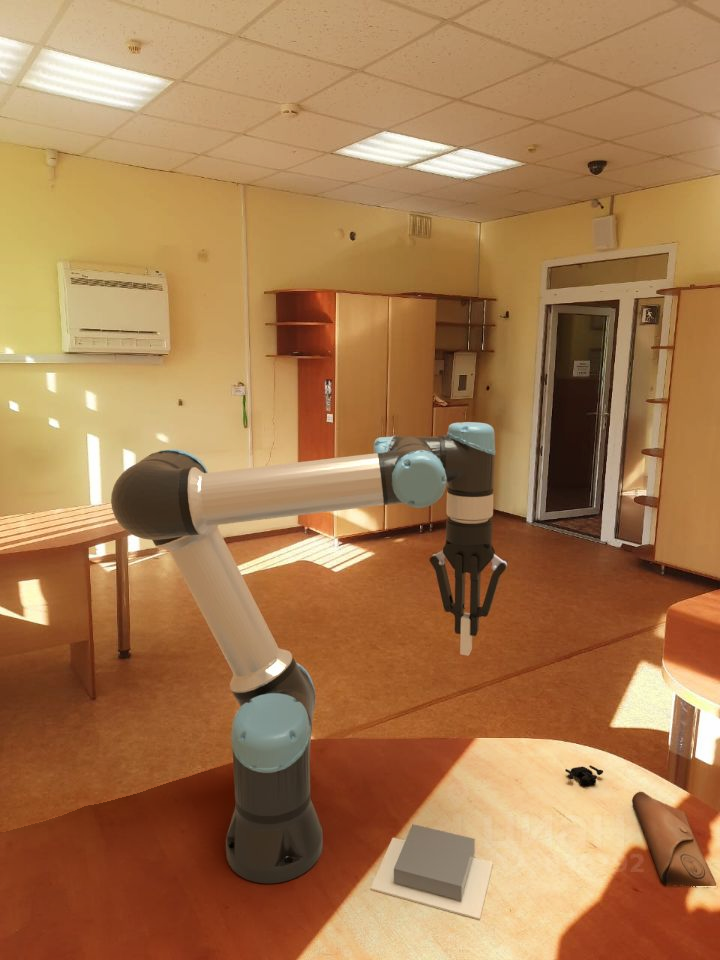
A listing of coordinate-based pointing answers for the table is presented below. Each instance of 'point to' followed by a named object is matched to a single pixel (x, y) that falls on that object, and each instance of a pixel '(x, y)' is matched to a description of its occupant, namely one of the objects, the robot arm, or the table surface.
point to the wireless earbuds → (584, 775)
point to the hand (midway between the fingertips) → (466, 651)
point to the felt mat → (466, 907)
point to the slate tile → (435, 862)
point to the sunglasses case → (672, 843)
